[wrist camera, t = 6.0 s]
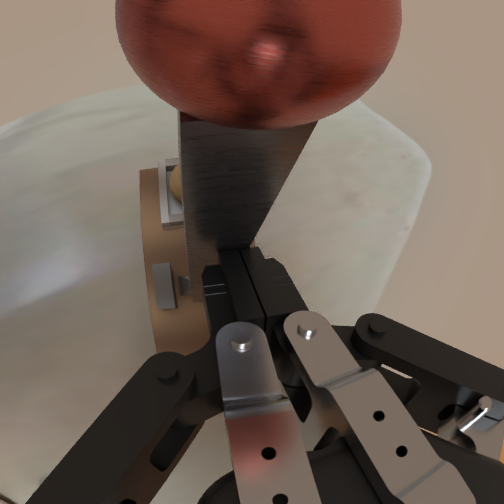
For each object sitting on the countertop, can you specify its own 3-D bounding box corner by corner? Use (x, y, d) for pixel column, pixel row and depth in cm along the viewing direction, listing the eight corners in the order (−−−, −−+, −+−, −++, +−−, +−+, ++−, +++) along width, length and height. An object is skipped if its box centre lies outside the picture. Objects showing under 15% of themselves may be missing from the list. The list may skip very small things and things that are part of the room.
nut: (164, 204, 22) (160, 185, 19) (180, 166, 23) (179, 143, 19) (207, 218, 22) (209, 201, 19) (220, 179, 23) (225, 157, 20)
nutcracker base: (260, 345, 26) (286, 356, 19) (164, 360, 24) (154, 378, 17) (234, 179, 29) (247, 139, 22) (145, 188, 27) (133, 149, 20)
